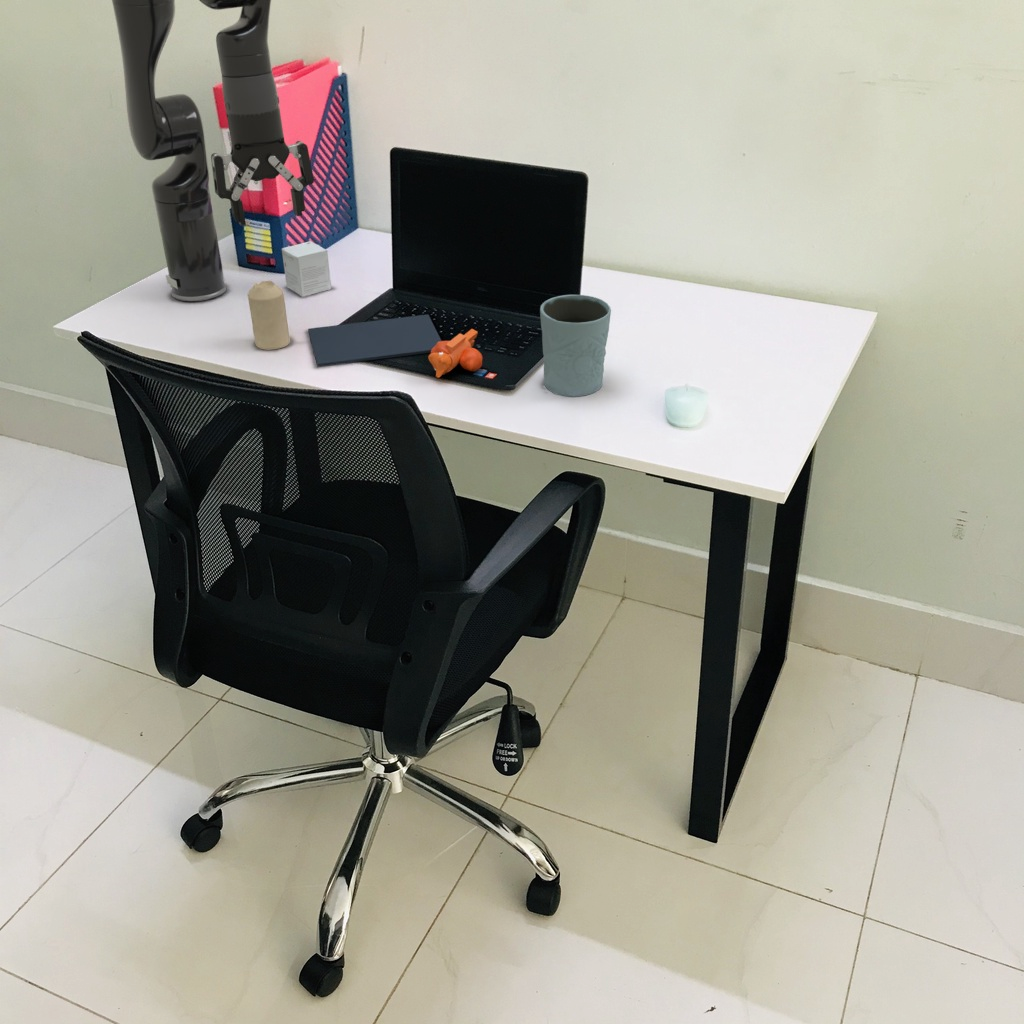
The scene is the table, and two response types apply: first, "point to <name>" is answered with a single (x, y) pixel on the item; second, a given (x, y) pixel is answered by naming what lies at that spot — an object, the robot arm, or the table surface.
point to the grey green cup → (574, 343)
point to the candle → (268, 316)
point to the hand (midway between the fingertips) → (270, 219)
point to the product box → (306, 268)
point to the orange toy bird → (456, 354)
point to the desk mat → (373, 340)
